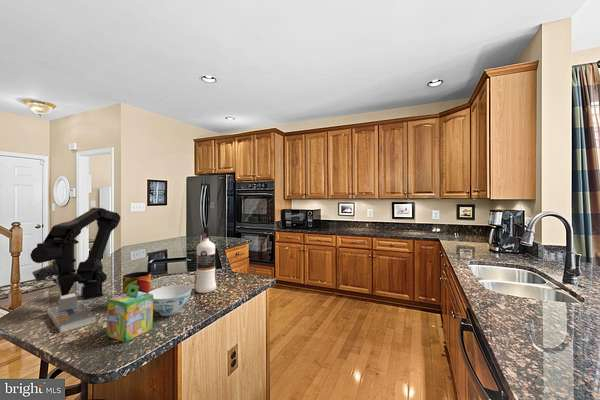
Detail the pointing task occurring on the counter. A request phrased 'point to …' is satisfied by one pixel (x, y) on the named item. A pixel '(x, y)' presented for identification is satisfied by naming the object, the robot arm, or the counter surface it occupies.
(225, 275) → the counter surface
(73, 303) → the fader tab
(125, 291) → the mug
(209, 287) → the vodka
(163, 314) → the chinaware
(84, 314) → the console
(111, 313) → the chalk box
